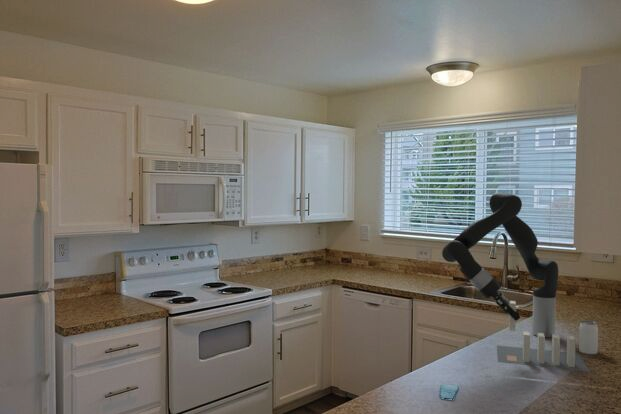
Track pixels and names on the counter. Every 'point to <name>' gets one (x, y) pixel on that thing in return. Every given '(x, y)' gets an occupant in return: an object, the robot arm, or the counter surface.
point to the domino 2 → (526, 346)
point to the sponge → (448, 391)
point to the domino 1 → (511, 320)
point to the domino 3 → (541, 348)
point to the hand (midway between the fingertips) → (517, 317)
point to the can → (588, 337)
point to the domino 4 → (555, 349)
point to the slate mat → (516, 357)
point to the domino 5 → (570, 351)
